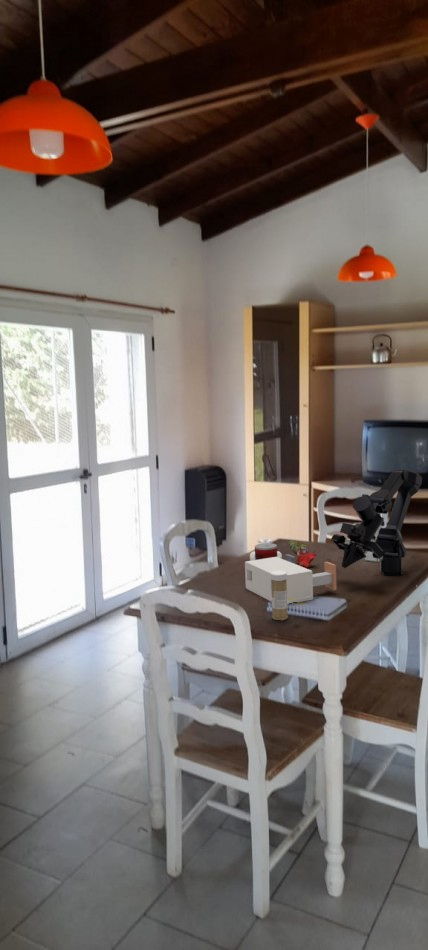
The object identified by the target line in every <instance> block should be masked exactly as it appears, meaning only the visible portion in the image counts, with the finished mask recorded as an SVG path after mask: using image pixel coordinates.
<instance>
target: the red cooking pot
mask: <svg viewBox="0 0 428 950" xmlns="http://www.w3.org/2000/svg"><path fill="white" fill-rule="evenodd" d="M257 543H258V544H262V543H272V544H273V543H274V540H273V539H270V538H268V537H263V538H261V539H260V540H259V539H258V540H257ZM277 557H279V558H281V559H283V554H282V553H281V552H280V551H278V550H277ZM252 560H255V550H254V551H251V552H250V553H249V561H252Z"/></svg>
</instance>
